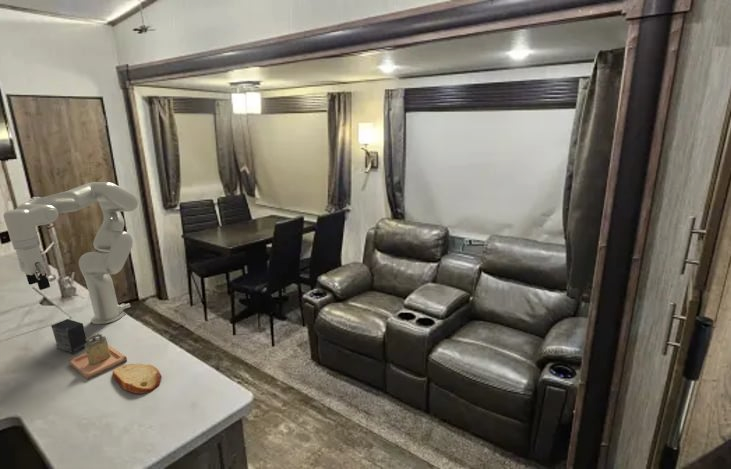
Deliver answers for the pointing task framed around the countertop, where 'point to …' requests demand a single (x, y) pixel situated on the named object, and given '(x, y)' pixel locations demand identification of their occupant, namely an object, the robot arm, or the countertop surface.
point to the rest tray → (93, 370)
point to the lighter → (97, 349)
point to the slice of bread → (137, 378)
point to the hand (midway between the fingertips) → (39, 285)
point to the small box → (69, 336)
